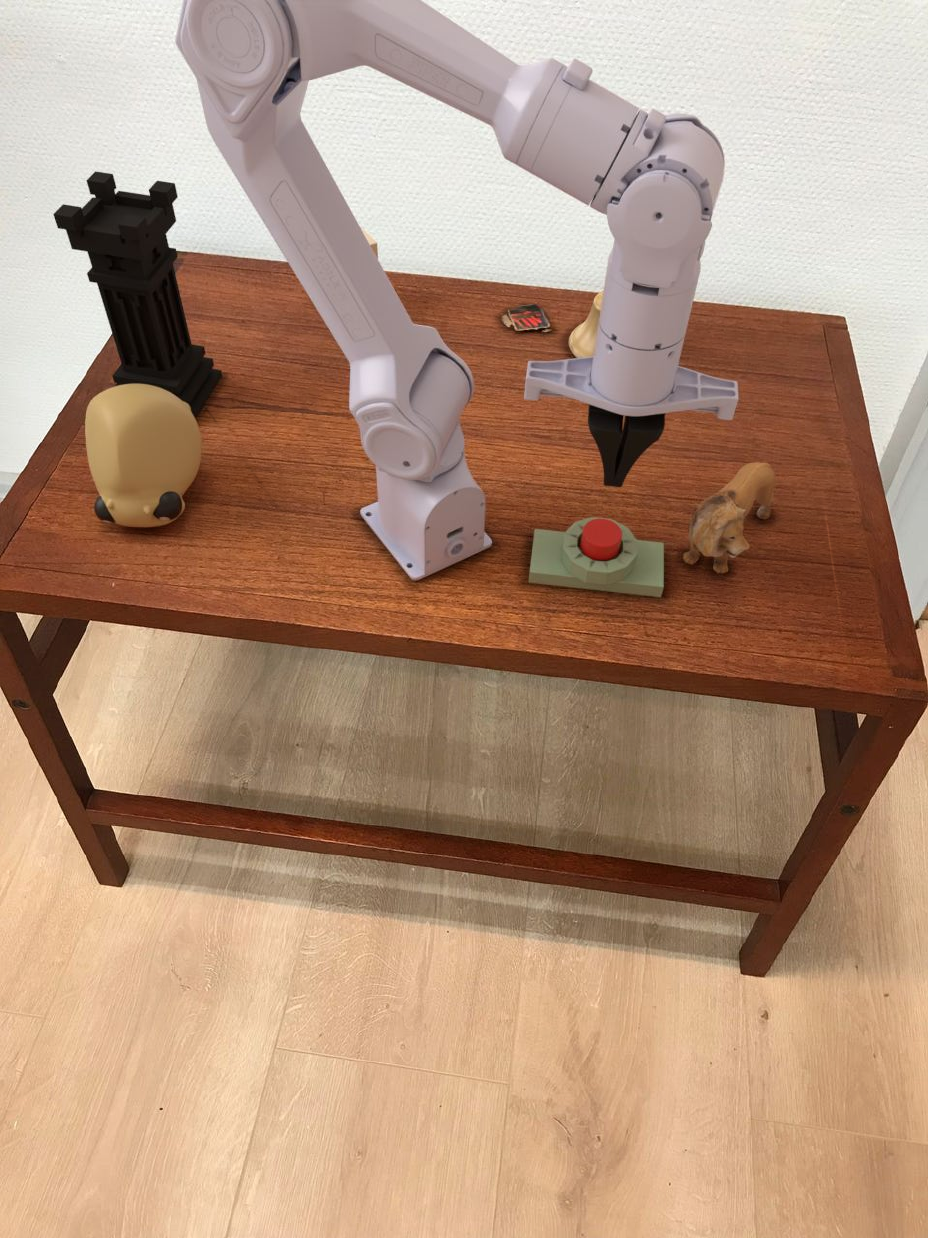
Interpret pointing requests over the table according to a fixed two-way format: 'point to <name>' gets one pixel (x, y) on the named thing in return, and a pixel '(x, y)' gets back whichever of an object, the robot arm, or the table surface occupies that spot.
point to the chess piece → (140, 286)
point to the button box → (597, 563)
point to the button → (601, 539)
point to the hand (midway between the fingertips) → (613, 477)
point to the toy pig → (141, 454)
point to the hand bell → (586, 331)
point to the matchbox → (526, 318)
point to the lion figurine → (729, 515)
